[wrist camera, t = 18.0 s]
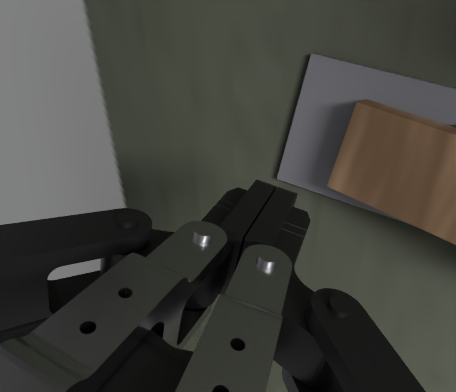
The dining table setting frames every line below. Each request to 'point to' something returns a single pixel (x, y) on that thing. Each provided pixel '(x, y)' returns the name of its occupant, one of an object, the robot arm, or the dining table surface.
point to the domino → (400, 167)
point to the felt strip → (349, 117)
